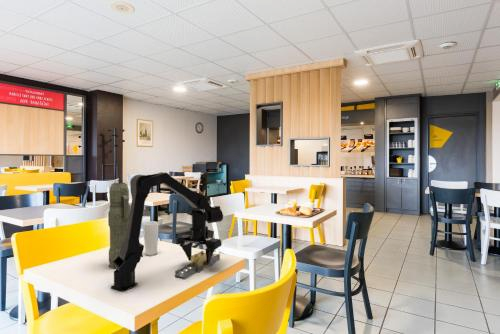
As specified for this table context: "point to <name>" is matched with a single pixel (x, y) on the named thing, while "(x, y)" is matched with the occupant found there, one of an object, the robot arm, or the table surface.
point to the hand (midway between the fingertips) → (199, 262)
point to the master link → (199, 259)
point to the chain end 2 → (214, 259)
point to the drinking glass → (150, 237)
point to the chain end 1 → (188, 271)
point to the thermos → (118, 218)
